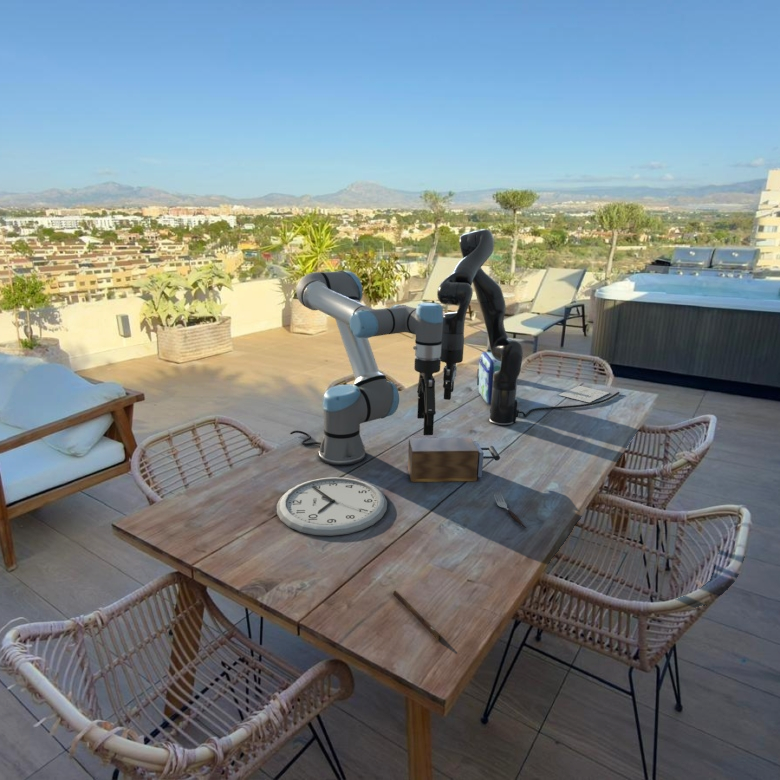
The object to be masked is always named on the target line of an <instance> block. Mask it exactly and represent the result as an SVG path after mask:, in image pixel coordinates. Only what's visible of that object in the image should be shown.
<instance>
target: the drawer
mask: <svg viewBox="0 0 780 780" xmlns="http://www.w3.org/2000/svg"><path fill="white" fill-rule="evenodd" d="M473 442H474V443H475V445H476V447H477V449H478V451H479V453H478V466H477V478H482V477H483V465H484V460H487V459H489V460H494V461H496V462H497V461H500V459H501V456H500V455H499V453H498V452H497V450H496V448H495V446H493V445H489V446H488V447H481V445H480V444H479V442H478V440H473ZM484 451H489V452H490V455H484Z"/></svg>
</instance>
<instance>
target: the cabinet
mask: <svg viewBox="0 0 780 780" xmlns="http://www.w3.org/2000/svg"><path fill="white" fill-rule="evenodd" d="M473 441H474V439H473V438H472V437H409V438H408V451H407V453H408V455H407V469H408V473H409V479H410V483H430V482H431V483H433V482H434V483H437V482H438V483H439V482H477V479H478V476H477V466H478V453H479V451H478V449H477V447H476V445H475V443H474V442H473Z"/></svg>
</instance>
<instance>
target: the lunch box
mask: <svg viewBox="0 0 780 780" xmlns="http://www.w3.org/2000/svg"><path fill="white" fill-rule="evenodd" d="M500 367H501V361H498V360H497V359H495V358H494V357H493V355H492V353H491V352H487V351H482V352H481V354H480V358H479V360H478V369H479V377H478V378H477V381H476V384H477V385H476V386H478V393H479V395H480V396H481V397H482V399H483V400H484V402H485V404H487V405H488V406H489V405H490V406H491V398H492V385H493V374H494V372H495V371H497V370H500Z"/></svg>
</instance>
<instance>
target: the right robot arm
mask: <svg viewBox="0 0 780 780" xmlns="http://www.w3.org/2000/svg"><path fill="white" fill-rule="evenodd" d="M458 242H459V250H460V253H461V256H462V259H461V260H459V262H458V263H457V264H456V266H455V267H454V270H453V271H452V273H451V274H449V275H448V276H447V277H446V278H445V279H444V280H443V281H441V283H439V286H438V288H437V292H436V297H437V300H438V301H439V303H440V304H442V305H446V306H458V309H457V310H455V311H451V312H445V313H443V325H442V342H441V343H442V348H441V357H440V360H441V363H445V365H444V366H443V370H442V371H443V377H442V381H443V383H442V387H443V400H446V401H450V400H451V399H452V393H453V392H454V390H455V389H454V387H455V380H456V376H457V370H458V366H457V364H460V363H462V362H463V360H464V347H465V334H464V333H465V324H466V323H465V322H466V316H467V312H468V309H469V306H470V304H471V301H472V298H473V294H474V293H473V288H474V292H475V295H476V300H477V304H478V306H479V309H480V312H481V316H482V319H483V321H484V325H485V328H486V332H487V337H488V343H489V344H490V349H491V353H492V355H493V357H494V358H495V359H497V360H498V361H501V367H500V370H497V371H495V372H494V374H493V385H492V398H491V404H490V409H489V414H490V415H489V422H490V423H491V424H494V425H497V426H511V425H513V424H516V423H517V418H519V416H520V415H519V414H522V415H523V417H527V416H528V415H529V414H530V413H531V412H535V411H539V410H542V411H544V410H545V411H546V410H558V409H569V408H581V407H588V406H593V405H597V404H602V403H604V402H606V401H609V400H611V399H612V398H614V397H616V396H617V395H619V394H620V393H621V392H619V391H617V392H616V393H614V394H612V395H610V396H609V397H607V398H604V399H601V400H598V401H593V402H590V403H584V404H573V405H562V406H561V405H560V406H549V407H534V408H531V409H529V410H528V411H527V412H524V411H521V410H519V409H518V399H517V388H518V378H519V376H520V374H521V370H522V365H523V357H524V349H523V346H522V343H521V342H519V341H517V340H514V339H513V338H512V339H511V338H509V337H508V334H507V332H506V328H505V324H504V322H505V321H504V319H505V316H506V309H507V308H506V300H505V297H504V293H503V290H502V288H501V286H500V285H499V283H497V282H496V280H495V279H493V278H492V277H491V276H489V275H488V274H487V273H486V272H485V271H484V269H483V268H482V267H483V266H484V264H485V263H486V262H487V260H488V259H489V258H490V257H491V256H492V255H493V252H494V250H495V239H494V236H493V234H492V231H490V230H489V229H487V228H486V229H485V228H484V229H478V230H475V231H470V232H466V233H463V234H462V235H460V237H459V241H458ZM472 285H473V287H472Z"/></svg>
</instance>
